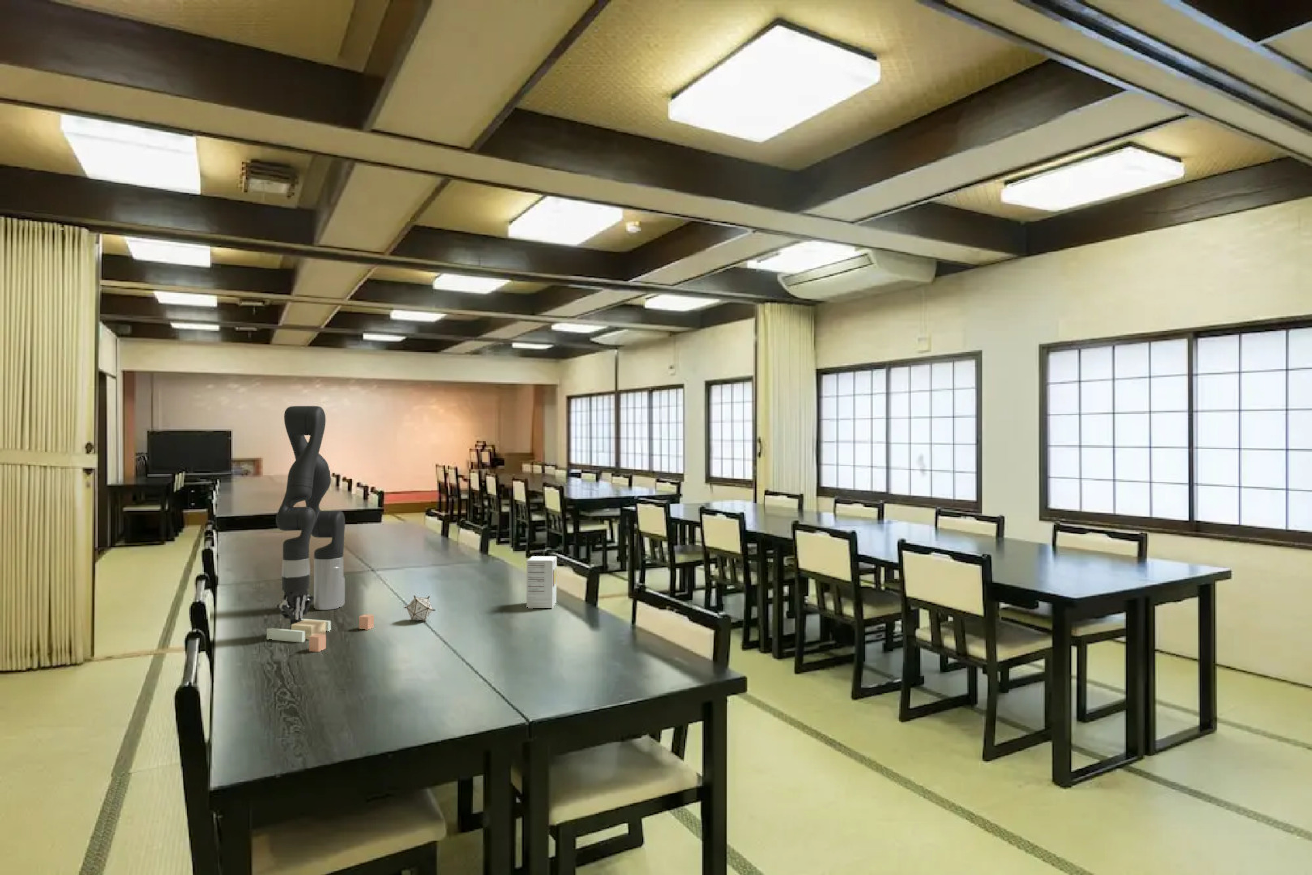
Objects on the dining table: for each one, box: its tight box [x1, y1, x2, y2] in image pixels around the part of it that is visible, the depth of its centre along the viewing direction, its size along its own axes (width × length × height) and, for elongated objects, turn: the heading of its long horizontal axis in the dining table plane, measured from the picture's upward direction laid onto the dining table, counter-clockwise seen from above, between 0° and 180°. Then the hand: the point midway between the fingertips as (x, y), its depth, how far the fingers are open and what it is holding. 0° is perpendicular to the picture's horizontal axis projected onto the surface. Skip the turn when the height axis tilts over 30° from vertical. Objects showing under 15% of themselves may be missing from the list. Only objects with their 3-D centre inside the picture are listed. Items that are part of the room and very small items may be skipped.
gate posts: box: [308, 614, 375, 653], centre depth 210 cm, size 25×3×4 cm, turn 167°
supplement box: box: [526, 555, 558, 609], centre depth 252 cm, size 10×9×17 cm
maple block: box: [290, 619, 327, 641], centre depth 213 cm, size 6×7×4 cm
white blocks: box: [266, 618, 332, 643], centre depth 214 cm, size 12×12×3 cm
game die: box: [403, 595, 436, 623], centre depth 230 cm, size 9×8×10 cm
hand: (295, 631), depth 214 cm, fingers closed
